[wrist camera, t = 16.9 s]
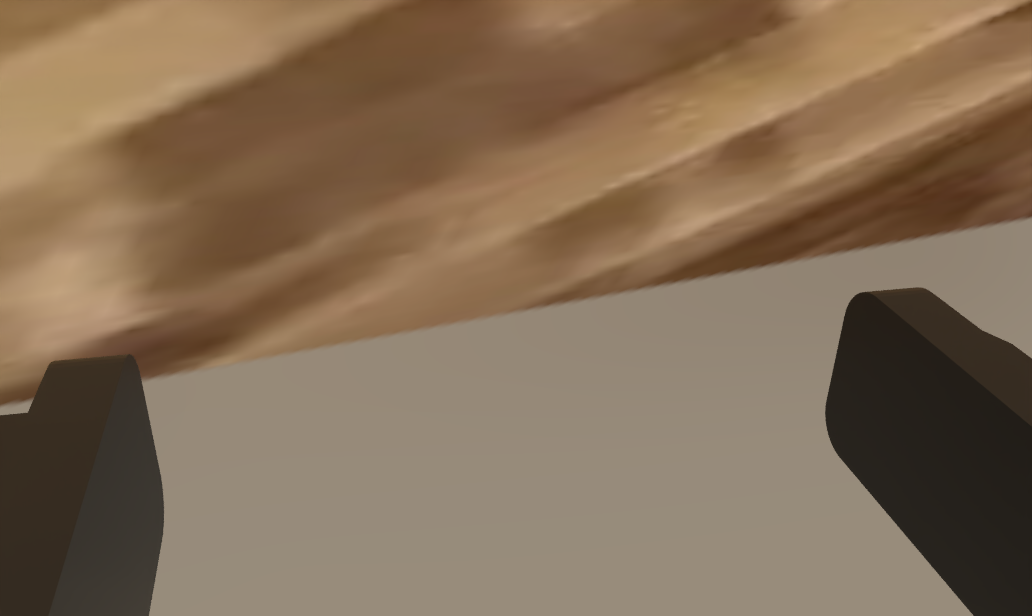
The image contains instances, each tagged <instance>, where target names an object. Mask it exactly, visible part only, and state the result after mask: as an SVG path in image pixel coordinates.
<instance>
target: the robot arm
mask: <svg viewBox="0 0 1032 616" xmlns="http://www.w3.org/2000/svg"><path fill="white" fill-rule="evenodd" d="M825 415H826V426H827V431H828V435H829V438H830V441H831V443H832V445H833V448H834V449H835V451H836V453H837V454H838V456H839V457H840V458H841V459H842V461H843V462H844V463H845V464H846V465H847V466H848V468H849V469H850V470H851V471H852V472H853V474H854V475H855V476H856V477H857V478H858V479H859V480H860V482H861V483H862V484H863V485H864V486H865V488H866V489H867V490H868V491H869V492H870V494H871V495H872V496H873V497H874V498H875V500H877V502H878V503H879V504H880V505H881V507H882V508H883V509H884V510H885V511H886V513H887V514H888V515H889V516H890V517H891V518H892V520H893V521H894V522H895V523H896V524H897V526H898V527H899V528H900V529H901V530H902V531H903V532H904V534H905V535H906V536H907V537H908V539H909V540H910V541H911V542H912V543H913V544H914V546H915V547H916V548H917V549H918V550H919V552H920V553H921V554H922V555H923V556H924V557H925V559H926V560H927V561H928V562H929V563H930V564H931V566H932V567H933V568H934V569H935V570H936V572H937V573H938V574H939V575H940V576H941V578H942V579H943V580H944V581H945V582H946V583H947V585H948V586H949V587H950V588H951V589H952V591H953V592H954V593H955V594H956V595H957V596H958V598H959V599H960V600H961V601H962V602H963V604H964V605H965V606H966V607H967V608H968V609H969V611H970V612H971V613H972V614H973V615H974V616H1032V359H1031V358H1030V357H1029V356H1027V355H1026V354H1025V353H1023V352H1022V351H1021V350H1019V349H1018V348H1017V347H1015V346H1014V345H1013V344H1011V343H1009V342H1006V341H1004V340H1002V339H1000V338H998V337H995V336H993V335H991V334H988V333H987V332H984V331H982V330H981V329H979V328H978V327H977V326H975V325H974V324H972V323H971V322H970V321H969V320H967V319H966V318H965V317H963V316H962V315H960V313H958V312H957V311H955V310H954V309H953V308H952V307H950V306H949V305H948V304H946V303H945V302H944V301H942V300H941V299H940V298H938V297H937V296H936V295H934V294H933V293H932V292H930V291H928V290H927V289H924V288H907V289H895V290H883V291H872V292H862V293H859V294H857V295H855V297H853V299H852V300H851V301H850V303H849V305H848V307H847V309H846V313H845V316H844V321H843V326H842V331H841V335H840V340H839V345H838V349H837V354H836V359H835V363H834V369H833V373H832V378H831V382H830V387H829V392H828V397H827V402H826V411H825ZM163 526H164V501H163V489H162V481H161V475H160V470H159V465H158V460H157V455H156V450H155V445H154V440H153V435H152V430H151V425H150V420H149V416H148V411H147V406H146V401H145V396H144V391H143V386H142V381H141V376H140V372H139V369H138V365H137V363H136V360H135V359H134V357H133V356H132V355H130V354H128V355H117V356H105V357H94V358H82V359H71V360H59V361H53V362H51V363H50V364H49V366H48V368H47V370H46V372H45V374H44V377H43V379H42V381H41V384H40V386H39V388H38V391H37V393H36V395H35V397H34V400H33V402H32V404H31V407H30V409H29V411H28V413H21V414H10V415H0V616H149V611H150V605H151V600H152V594H153V588H154V582H155V577H156V571H157V566H158V560H159V554H160V548H161V542H162V536H163Z"/></svg>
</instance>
